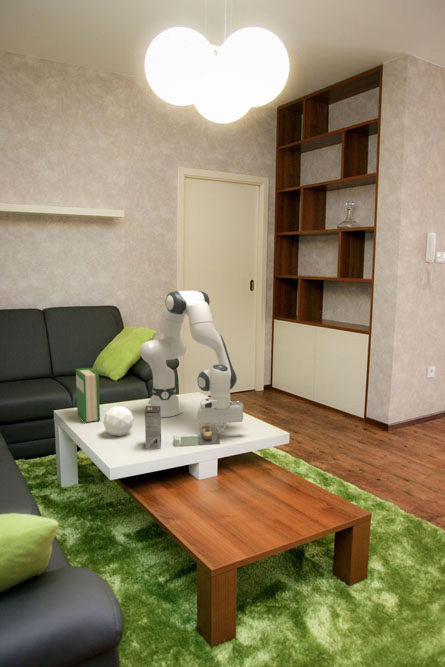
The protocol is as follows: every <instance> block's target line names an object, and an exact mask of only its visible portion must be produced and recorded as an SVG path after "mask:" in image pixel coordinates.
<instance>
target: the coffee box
mask: <svg viewBox="0 0 445 667" xmlns="http://www.w3.org/2000/svg"><path fill="white" fill-rule="evenodd" d="M161 420H162V417H161V409H160V406H149V405H145V410H144V424H145V425H144V426H145V428H144V429H145V430H144V431H145V450H158V449H161V448H162V447H161V446H162V421H161Z"/></svg>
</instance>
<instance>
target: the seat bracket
mask: <svg viewBox="0 0 445 667" xmlns="http://www.w3.org/2000/svg"><path fill="white" fill-rule="evenodd" d="M172 437H173V445H174V447H175V448H176V447H189V446H198V445H199V444H198V434H197V433H193V434H180V437H179V435H178V434H173V436H172Z"/></svg>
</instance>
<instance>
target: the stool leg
mask: <svg viewBox="0 0 445 667" xmlns="http://www.w3.org/2000/svg"><path fill="white" fill-rule="evenodd" d="M199 425H200V426H199V427H200V432H201V436H203V437H204V439H206V440H210V439H212V435H213V431H212V430H211V428H210V426H209V424H199Z"/></svg>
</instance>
